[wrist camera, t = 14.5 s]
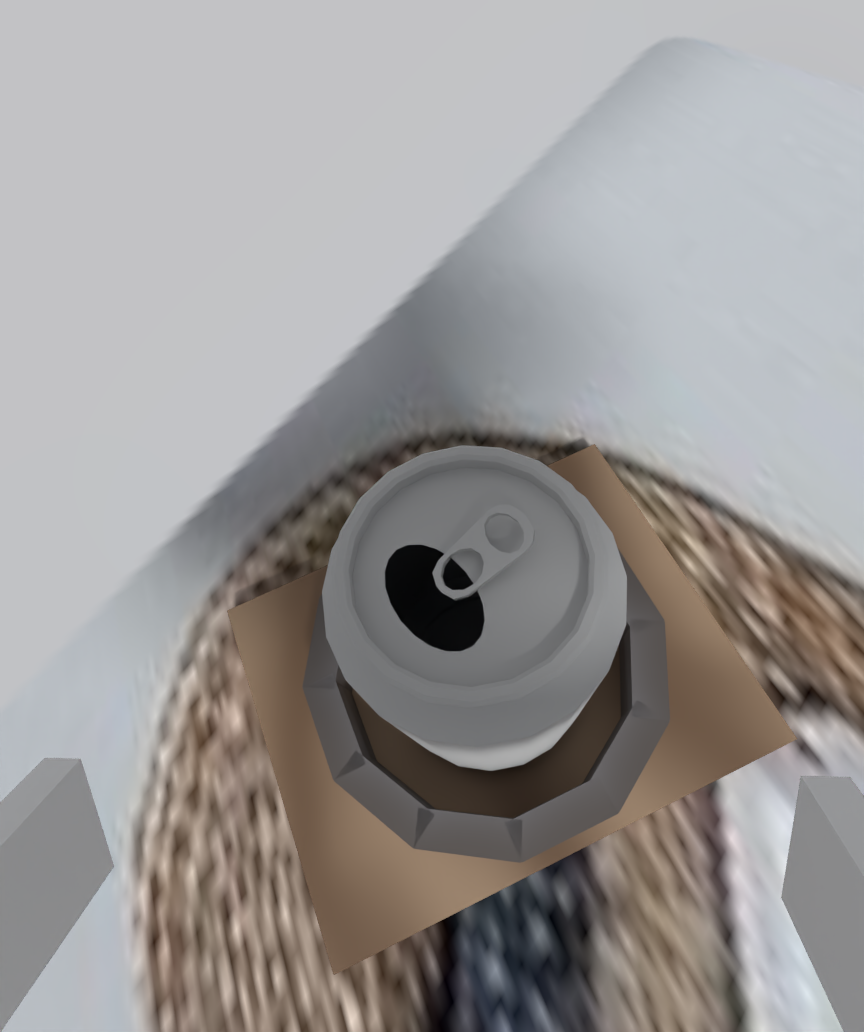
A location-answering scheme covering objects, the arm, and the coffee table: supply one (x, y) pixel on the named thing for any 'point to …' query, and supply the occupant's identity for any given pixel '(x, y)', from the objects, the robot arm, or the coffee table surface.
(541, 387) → the coffee table surface
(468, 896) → the can holder
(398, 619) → the can
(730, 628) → the coffee table surface
